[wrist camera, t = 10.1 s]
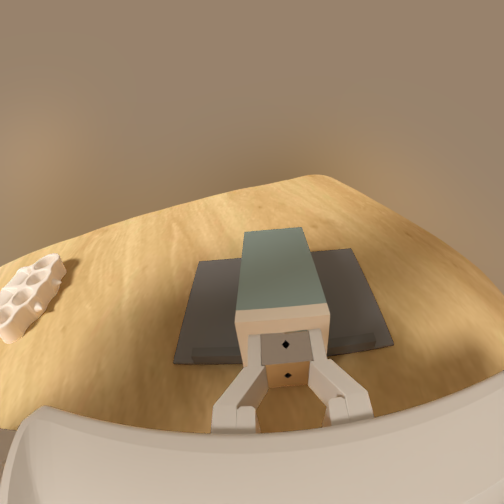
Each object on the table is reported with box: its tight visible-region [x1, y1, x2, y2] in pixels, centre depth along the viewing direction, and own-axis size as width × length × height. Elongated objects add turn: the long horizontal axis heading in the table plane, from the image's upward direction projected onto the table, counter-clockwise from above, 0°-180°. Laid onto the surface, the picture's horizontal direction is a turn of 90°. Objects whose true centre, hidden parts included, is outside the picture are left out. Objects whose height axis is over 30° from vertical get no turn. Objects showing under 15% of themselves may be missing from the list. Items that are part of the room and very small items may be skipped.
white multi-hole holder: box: [0, 253, 67, 344], centre depth 32 cm, size 3×18×15 cm
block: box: [235, 227, 330, 367], centre depth 25 cm, size 6×6×14 cm
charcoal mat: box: [173, 248, 394, 364], centre depth 29 cm, size 20×16×1 cm
